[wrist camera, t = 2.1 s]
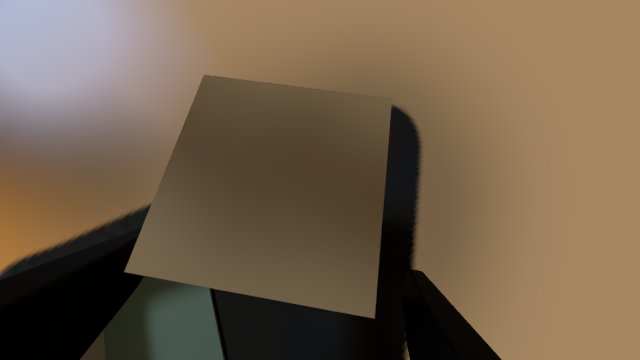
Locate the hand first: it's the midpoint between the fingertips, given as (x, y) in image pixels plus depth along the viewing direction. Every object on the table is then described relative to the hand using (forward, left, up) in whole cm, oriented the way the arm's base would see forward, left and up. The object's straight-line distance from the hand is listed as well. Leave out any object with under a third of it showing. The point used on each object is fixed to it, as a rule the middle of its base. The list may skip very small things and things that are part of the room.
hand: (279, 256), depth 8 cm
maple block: (+1, -1, -9) cm, 9 cm away
